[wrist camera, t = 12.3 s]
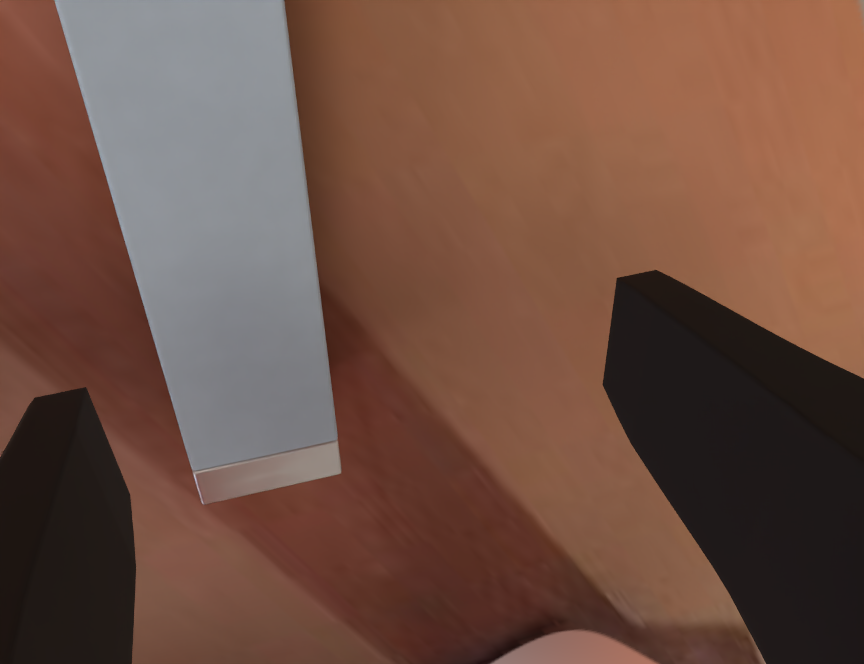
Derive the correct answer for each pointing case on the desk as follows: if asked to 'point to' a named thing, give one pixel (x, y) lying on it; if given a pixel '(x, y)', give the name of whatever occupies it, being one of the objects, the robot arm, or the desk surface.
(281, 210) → the stapler
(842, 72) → the desk surface
